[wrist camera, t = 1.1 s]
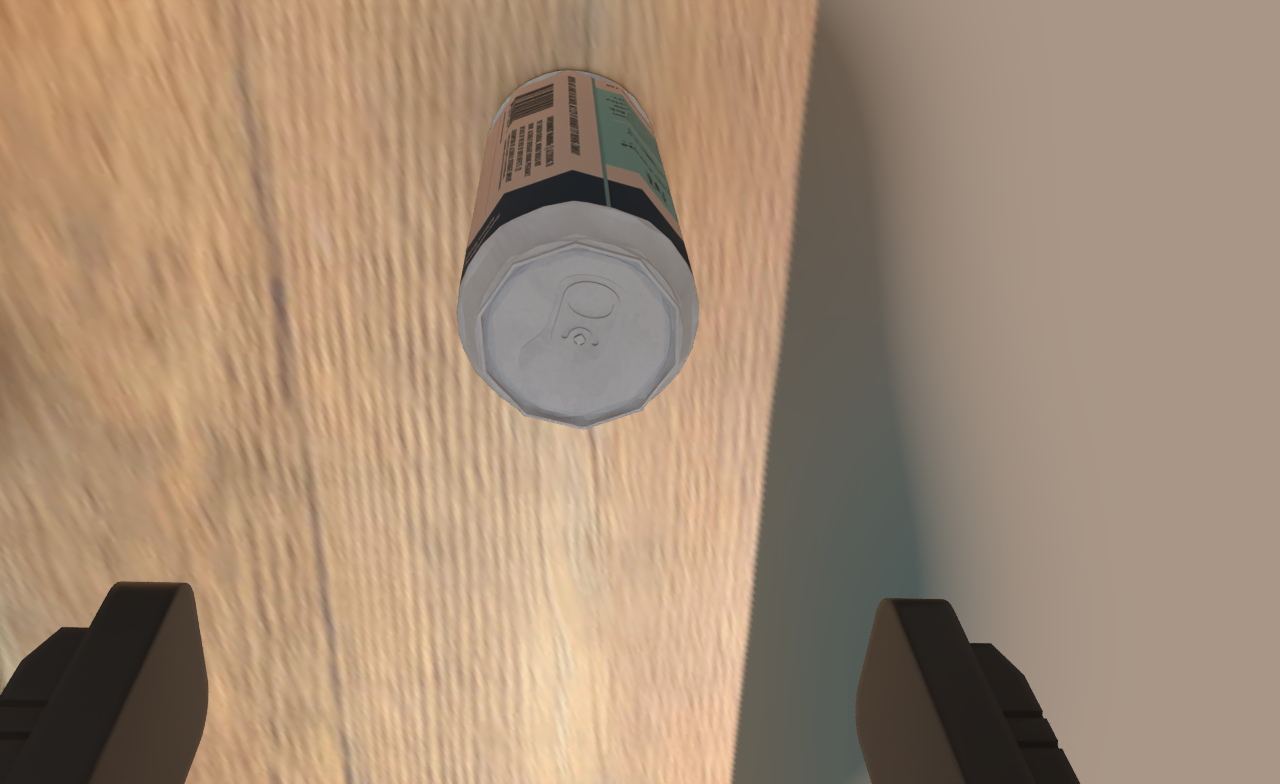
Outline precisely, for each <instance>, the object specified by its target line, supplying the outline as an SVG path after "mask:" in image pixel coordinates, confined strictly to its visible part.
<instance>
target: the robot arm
mask: <svg viewBox="0 0 1280 784" xmlns="http://www.w3.org/2000/svg"><path fill="white" fill-rule="evenodd" d="M207 708H208V679H207V672H206V666H205V660H204V653H203V647H202V641H201V635H200V628H199V622H198V616H197V610H196V603H195V598H194V593H193V590H192V588H191V586H190V585H189V584H188V583H171V582H117V583H116V584H114V585H113V587H112V588H111V589H110V591H109V592H108V594H107V596H106V598H105V599H104V601H103V603H102V605H101V607H100V609H99V610H98V612H97V614H96V616H95V618H94V619H93V621H92V623H91V625H90V627H89V628H78V627H61V628H60V629H59V630H58V631H57V632H55V633H54V634H53V635H52V636H51V637H49V638H48V639H47V640H46V641H45V642H43V643H42V644H41V645H40V646H39V647H37V648H36V649H35V650H34V651H33V652H31V653H30V654H29V655H28V656H27V657H25V658H24V659H23V660H22V661H21V662H20V664H19V666H18V667H17V669H16V671H15V672H14V674H13V676H12V677H11V679H10V680H9V682H8V684H7V685H6V687H5V689H4V690H3V692H2V694H1V695H0V784H184V783H185V781H186V778H187V775H188V773H189V770H190V767H191V764H192V762H193V759H194V756H195V754H196V751H197V748H198V746H199V743H200V740H201V737H202V734H203V730H204V726H205V721H206V715H207ZM1042 712H1043V711H1042V709H1041V707H1040V705H1039V703H1038V701H1037V699H1036V698H1035V696H1034V694H1033V692H1032V690H1031V688H1030V686H1029V684H1028V682H1027V680H1026V678H1025V676H1024V675H1023V674H1022V673H1021V672H1020V671H1019V670H1018V669H1017V668H1016V667H1015V666H1014V665H1013V664H1012V663H1011V662H1010V661H1009V660H1008V659H1007V658H1005V656H1003V655H1002V654H1001V653H1000V652H999V651H998V650H997V649H996V648H995V647H994V646H993V645H992V644H991V643H990V644H989V643H969V641H968V639H967V637H966V635H965V633H964V630H963V628H962V626H961V624H960V622H959V620H958V618H957V616H956V614H955V611H954V609H953V608H952V606H951V605H950V603H949V602H948V601H946V600H943V599H900V598H885V599H883V600H882V601H881V602H880V604H879V606H878V608H877V612H876V615H875V619H874V623H873V627H872V631H871V635H870V639H869V644H868V648H867V652H866V656H865V660H864V664H863V668H862V672H861V677H860V680H859V685H858V689H857V695H856V727H857V734H858V739H859V743H860V747H861V750H862V753H863V757H864V760H865V763H866V766H867V770H868V773H869V776H870V779H871V782H872V784H1080V782H1079V781H1078V778H1077V777H1076V775H1075V773H1074V771H1073V769H1072V767H1071V765H1070V763H1069V761H1068V759H1067V757H1066V755H1065V753H1064V751H1063V750H1062V749H1059V748H1058V740H1057V738H1056V736H1055V734H1054V732H1053V731H1052V728H1051V726H1050V725H1049V723H1048V721H1047V719H1044V718H1043V716H1042Z"/></svg>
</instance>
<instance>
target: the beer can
mask: <svg viewBox="0 0 1280 784" xmlns="http://www.w3.org/2000/svg"><path fill="white" fill-rule="evenodd" d="M698 313H699V300H698V295H697V291H696V286H695V282H694V277H693V273H692V270H691V266H690V263H689V259H688V255H687V252H686V248H685V244H684V241H683V237H682V234H681V230H680V226H679V223H678V219H677V215H676V212H675V208H674V205H673V201H672V197H671V194H670V190H669V186H668V183H667V179H666V175H665V172H664V168H663V165H662V161H661V157H660V154H659V150H658V146H657V143H656V139H655V136H654V132H653V128H652V126H651V124H650V121H649V119H648V117H647V116H646V114H645V113H644V111H643V110H642V108H641V107H640V105H639V104H638V102H637V101H636V99H635V98H634V97H633V96H632V95H630V94H629V93H628V92H627V91H626V90H624V89H623V88H622V87H621V86H620V85H618V84H617V83H615V82H613V81H611V80H609V79H606V78H604V77H602V76H599V75H597V74H592V73H587V72H582V71H577V70H563V71H557V72H551V73H547V74H545V75H542V76H540V77H537V78H535V79H533V80H530V81H528V82H526V83H525V84H523V85H522V86H521V87H519V88H518V89H516V90H515V91H514V92H513V93H512V94H511V95H510V96H509V97H508V99H507V100H506V101H505V102H504V103H503V104H502V106H501V107H500V109H499V111H498V113H497V114H496V116H495V118H494V119H493V122H492V125H491V128H490V130H489V133H488V138H487V144H486V149H485V154H484V160H483V165H482V170H481V176H480V181H479V186H478V192H477V197H476V202H475V207H474V213H473V218H472V223H471V229H470V234H469V239H468V245H467V250H466V255H465V261H464V266H463V271H462V277H461V282H460V288H459V296H458V305H457V320H458V329H459V335H460V339H461V342H462V345H463V349H464V351H465V353H466V355H467V357H468V359H469V361H470V362H471V364H472V366H473V368H474V369H475V371H476V373H477V374H478V375H479V376H480V377H481V378H482V379H483V380H484V381H485V382H486V383H487V384H488V385H489V386H490V387H491V388H492V389H493V390H494V391H495V392H496V393H497V394H498V395H499V396H500V397H501V398H503V399H504V400H506V401H507V402H508V403H510V404H511V405H513V406H514V407H516V408H517V409H518V410H519V411H520V412H521V413H522V414H523V415H524V416H527V417H531V418H536V419H540V420H544V421H549V422H553V423H557V424H562V425H566V426H571V427H575V428H579V429H587V428H590V427H593V426H596V425H599V424H602V423H605V422H608V421H611V420H614V419H618V418H621V417H624V416H627V415H630V414H633V413H636V412H639V411H642V410H643V409H644V407H645V406H646V405H647V404H648V402H649V401H651V400H652V399H653V398H654V397H655V396H657V395H658V394H659V393H660V392H661V391H662V390H663V389H664V388H665V387H666V386H667V385H668V384H669V383H670V382H671V381H672V380H673V379H674V378H675V377H676V375H677V374H678V373H679V372H680V370H681V368H682V367H683V365H684V363H685V361H686V359H687V357H688V355H689V353H690V351H691V349H692V347H693V344H694V339H695V335H696V331H697V327H698Z"/></svg>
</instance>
